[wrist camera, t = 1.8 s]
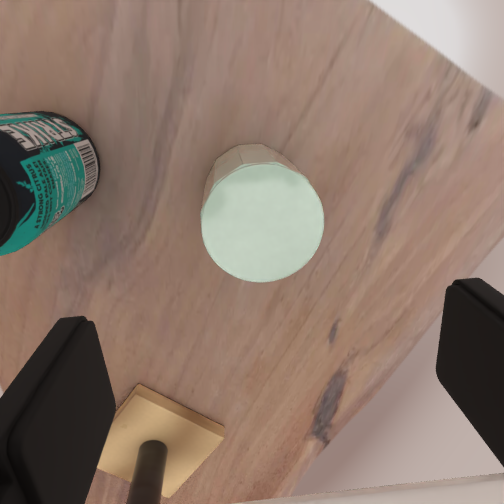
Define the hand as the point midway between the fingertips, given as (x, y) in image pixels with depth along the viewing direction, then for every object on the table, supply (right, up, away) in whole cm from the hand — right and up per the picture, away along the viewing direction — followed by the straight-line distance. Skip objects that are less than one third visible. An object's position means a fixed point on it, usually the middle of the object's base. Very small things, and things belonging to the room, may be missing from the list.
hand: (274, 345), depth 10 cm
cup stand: (-10, -16, +29) cm, 35 cm away
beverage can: (-15, +9, +19) cm, 26 cm away
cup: (-1, +7, +20) cm, 22 cm away
